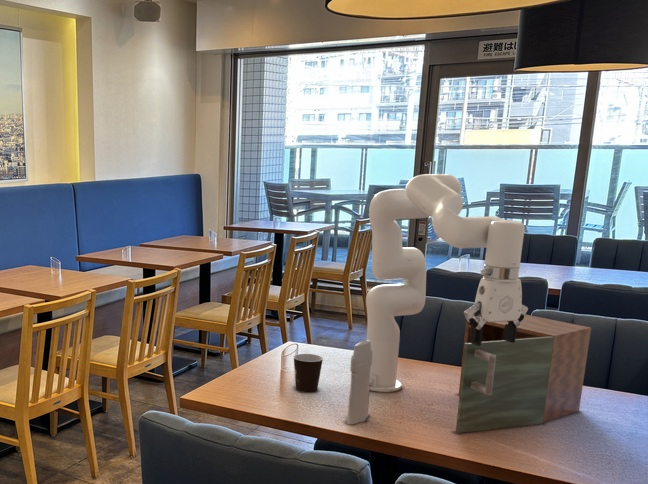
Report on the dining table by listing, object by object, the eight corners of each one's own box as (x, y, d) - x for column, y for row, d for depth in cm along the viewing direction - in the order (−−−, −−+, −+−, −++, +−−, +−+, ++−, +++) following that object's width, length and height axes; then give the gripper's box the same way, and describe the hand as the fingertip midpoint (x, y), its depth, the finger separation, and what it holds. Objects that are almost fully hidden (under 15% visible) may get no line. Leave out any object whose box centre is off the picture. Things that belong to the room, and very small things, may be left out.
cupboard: (542, 422, 192) (554, 335, 186) (458, 395, 214) (466, 316, 208) (579, 411, 200) (591, 327, 194) (494, 385, 222) (503, 309, 216)
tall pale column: (354, 426, 190) (360, 346, 184) (340, 422, 192) (345, 343, 187) (374, 416, 197) (379, 338, 192) (360, 412, 200) (365, 335, 195)
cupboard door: (561, 432, 185) (574, 343, 179) (474, 442, 179) (485, 350, 173) (539, 422, 192) (551, 336, 186) (455, 431, 186) (464, 343, 180)
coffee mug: (315, 395, 214) (317, 363, 211) (288, 390, 218) (289, 358, 216) (328, 384, 223) (329, 354, 221) (301, 380, 228) (303, 350, 225)
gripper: (481, 277, 164) (472, 349, 169) (543, 274, 169) (533, 344, 173) (459, 272, 171) (451, 341, 176) (519, 268, 176) (510, 336, 180)
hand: (492, 342), depth 174 cm, fingers open, 9 cm apart
